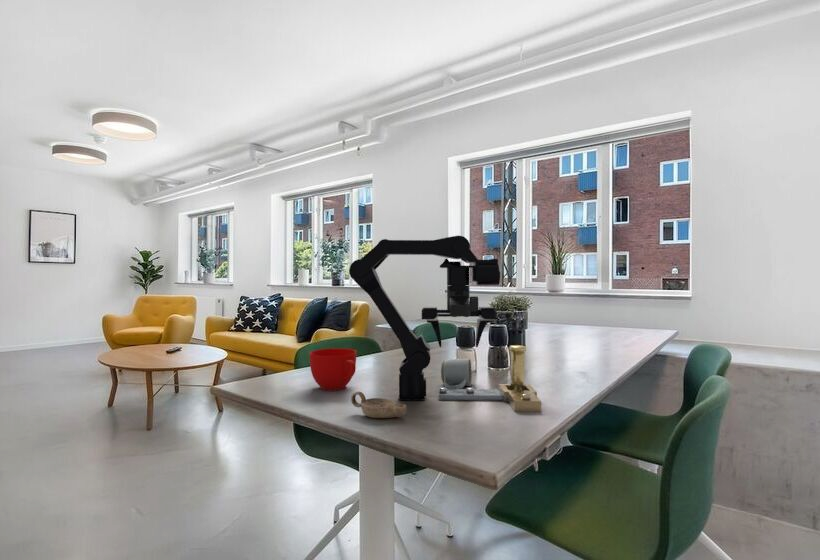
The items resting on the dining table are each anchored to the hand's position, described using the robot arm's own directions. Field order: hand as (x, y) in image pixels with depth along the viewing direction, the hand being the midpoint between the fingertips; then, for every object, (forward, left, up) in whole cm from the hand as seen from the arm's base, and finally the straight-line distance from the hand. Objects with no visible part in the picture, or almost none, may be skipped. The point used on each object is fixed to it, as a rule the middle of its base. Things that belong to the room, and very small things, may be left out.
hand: (458, 346), depth 111 cm
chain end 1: (+7, +1, -13) cm, 15 cm away
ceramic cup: (-33, +8, -13) cm, 36 cm away
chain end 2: (+15, -3, -13) cm, 20 cm away
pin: (+15, +1, -13) cm, 20 cm away
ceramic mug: (0, +12, -13) cm, 18 cm away
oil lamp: (-19, -15, -13) cm, 28 cm away
